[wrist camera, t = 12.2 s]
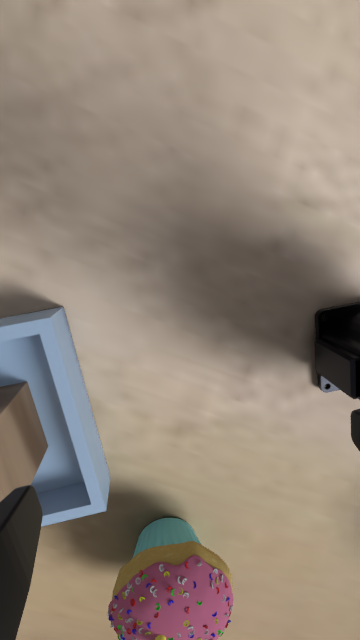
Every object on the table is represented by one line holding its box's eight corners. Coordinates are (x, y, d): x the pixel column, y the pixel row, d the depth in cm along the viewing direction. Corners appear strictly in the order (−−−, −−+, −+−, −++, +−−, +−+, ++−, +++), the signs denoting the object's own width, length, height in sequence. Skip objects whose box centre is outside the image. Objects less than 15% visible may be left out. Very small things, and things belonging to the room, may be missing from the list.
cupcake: (101, 567, 25) (68, 841, 14) (137, 485, 24) (134, 715, 12) (194, 584, 27) (234, 839, 16) (233, 509, 26) (311, 729, 14)
